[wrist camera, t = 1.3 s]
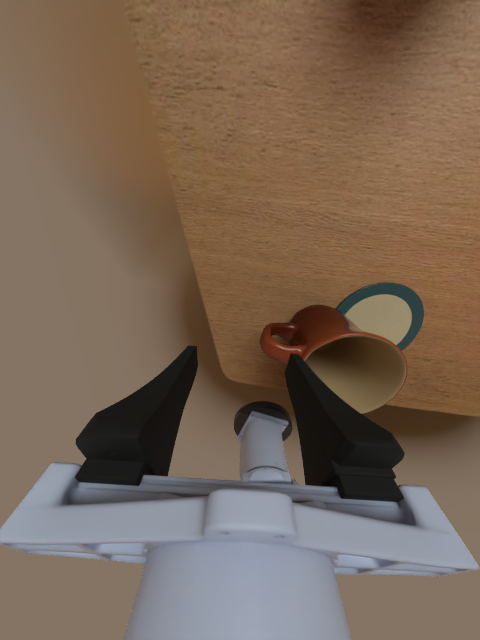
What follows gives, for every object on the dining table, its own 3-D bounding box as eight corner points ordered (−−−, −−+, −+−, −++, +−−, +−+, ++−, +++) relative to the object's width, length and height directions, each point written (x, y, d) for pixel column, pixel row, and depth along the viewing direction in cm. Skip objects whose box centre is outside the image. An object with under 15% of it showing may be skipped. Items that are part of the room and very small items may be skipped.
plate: (381, 372, 27) (383, 374, 26) (310, 347, 26) (311, 348, 25) (443, 302, 22) (446, 303, 22) (361, 267, 21) (362, 268, 21)
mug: (361, 308, 22) (435, 353, 13) (328, 361, 26) (367, 427, 17) (272, 279, 22) (281, 305, 13) (251, 337, 26) (246, 390, 16)
